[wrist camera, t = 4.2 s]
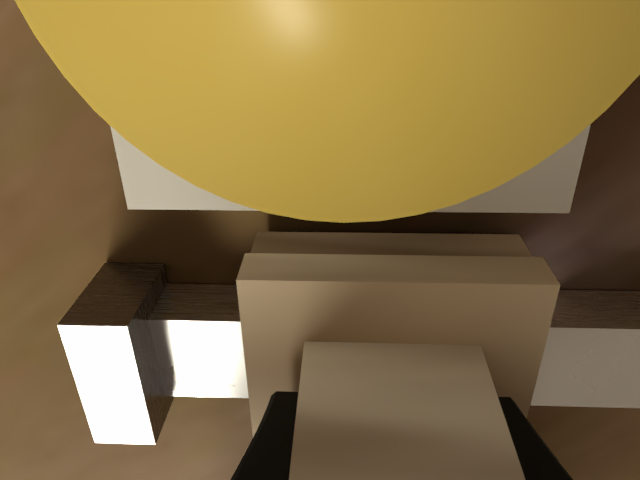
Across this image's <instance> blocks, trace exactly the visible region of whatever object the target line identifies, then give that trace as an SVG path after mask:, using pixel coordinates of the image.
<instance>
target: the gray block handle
mask: <svg viewBox="0 0 640 480" xmlns="http://www.w3.org/2000/svg"><path fill="white" fill-rule="evenodd" d="M57 326H58V329H59V332H60V335H61V339H62V342H63V345H64V348H65V351H66V354H67V357H68V361H69V364H70V367H71V370H72V373H73V376H74V379H75V382H76V386H77V389H78V392H79V395H80V398H81V401H82V404H83V408H84V411H85V414H86V417H87V420H88V423H89V426H90V429H91V433H92V436H93V439H94V442H95V443H110V444H143V445H156V442H157V440H158V437H159V435H160V432H161V430H162V427H163V424H164V422H165V419H166V417H167V414H168V411H169V409H170V406H171V404H172V401H173V398H174V396H184V397H223V398H249V397H248V387H247V378H246V369H245V359H244V350H243V341H242V331H241V322H240V313H239V303H238V294H237V285H219V284H167V278H166V273H165V267H164V264H151V263H105V264H104V265H103V266H102V267H101V269H100V270H99V271H98V273H97V274H96V275H95V277H94V278H93V279H92V280H91V282H90V283H89V284H88V286H87V287H86V288H85V290H84V291H83V292H82V293H81V295H80V296H79V297H78V299H77V300H76V301H75V303H74V304H73V305H72V307H71V308H70V309H69V310H68V312H67V313H66V314H65V316H64V317H63V318H62V320H61V321H60V322H59V323H58V325H57ZM531 405H532V406H571V407H610V408H640V291H601V290H559V293H558V297H557V301H556V305H555V309H554V313H553V317H552V321H551V325H550V329H549V333H548V337H547V341H546V345H545V349H544V353H543V357H542V361H541V365H540V369H539V373H538V377H537V381H536V385H535V389H534V393H533V397H532V401H531Z"/></svg>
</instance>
